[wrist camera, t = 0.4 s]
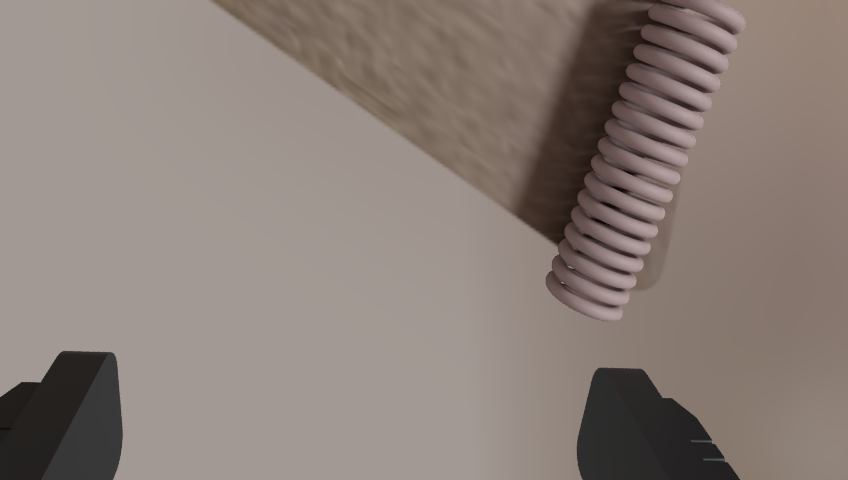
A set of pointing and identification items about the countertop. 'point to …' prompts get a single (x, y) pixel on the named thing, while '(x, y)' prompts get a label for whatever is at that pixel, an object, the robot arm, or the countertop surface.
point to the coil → (642, 154)
